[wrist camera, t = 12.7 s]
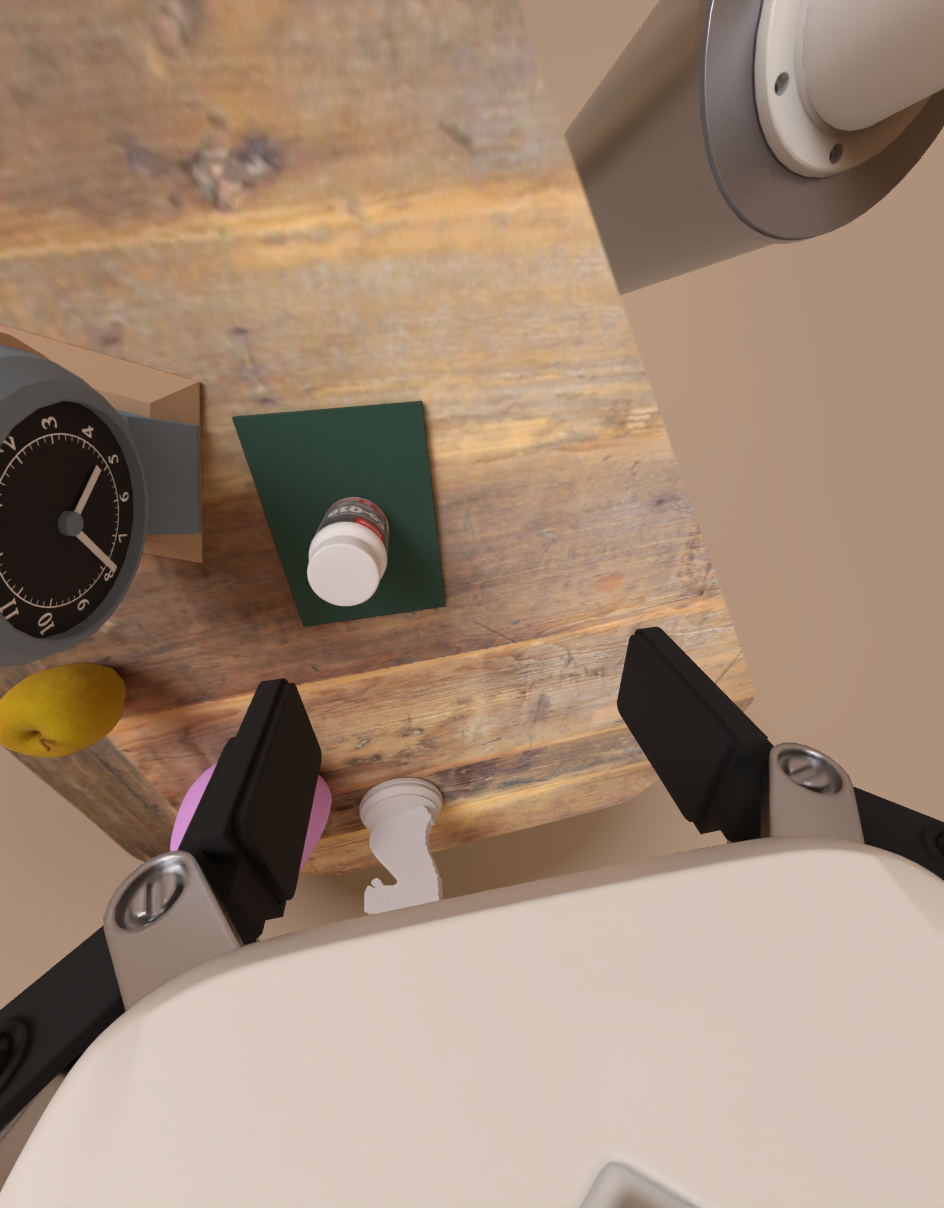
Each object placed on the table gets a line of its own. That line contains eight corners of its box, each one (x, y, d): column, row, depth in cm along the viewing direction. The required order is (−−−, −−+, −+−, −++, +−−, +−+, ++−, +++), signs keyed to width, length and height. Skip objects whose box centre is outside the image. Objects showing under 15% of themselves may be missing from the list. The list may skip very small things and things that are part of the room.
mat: (234, 416, 25) (231, 417, 25) (421, 400, 27) (421, 401, 26) (304, 623, 34) (303, 627, 33) (445, 603, 35) (445, 606, 34)
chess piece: (343, 797, 45) (324, 962, 33) (422, 766, 45) (433, 921, 32) (383, 837, 51) (379, 993, 38) (453, 809, 50) (474, 958, 38)
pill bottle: (393, 503, 29) (393, 545, 22) (383, 561, 31) (380, 616, 24) (326, 489, 28) (303, 529, 21) (320, 550, 30) (298, 605, 23)
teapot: (373, 745, 42) (367, 853, 33) (284, 846, 48) (258, 961, 39) (245, 699, 36) (193, 814, 27) (164, 820, 42) (98, 948, 33)
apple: (162, 676, 34) (104, 753, 27) (111, 713, 35) (43, 796, 28) (85, 628, 31) (-3, 701, 24) (31, 670, 32) (-68, 752, 25)
